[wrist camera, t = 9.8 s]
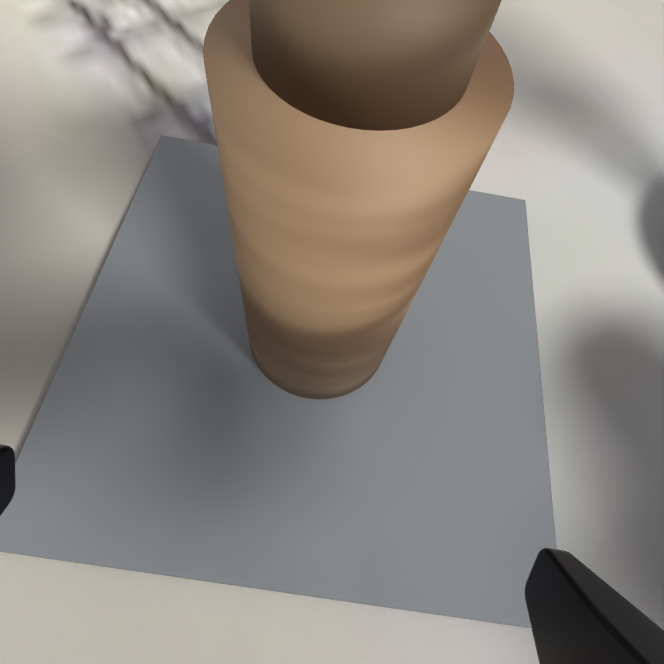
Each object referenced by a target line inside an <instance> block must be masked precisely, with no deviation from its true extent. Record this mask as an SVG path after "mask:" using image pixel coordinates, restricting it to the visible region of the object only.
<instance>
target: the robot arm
mask: <svg viewBox="0 0 664 664" xmlns="http://www.w3.org/2000/svg"><path fill="white" fill-rule="evenodd" d="M15 488H16V479H15V453H14V451H13V449H12V448H11V447H9V446H6V445H1V444H0V516H1V514H2V513H3V512H4V510H5V509H6V508H7V506H8V505H9V504H10V502H11V500H12V498H13V496H14V493H15ZM525 601H526V605H527V610H528V614H529V619H530V623H531V628H532V632H533V636H534V641H535V645H536V650H537V654H538V659H539V663H540V664H664V630H662V629H661V628H660V627H659V626H658V625H656V624H655V623H654V622H653V621H652V620H650V619H649V618H648V617H647V616H645V615H644V614H643V613H642V612H641V611H639V610H638V609H637V608H636V607H635V606H633V605H632V604H631V603H630V602H629V601H627V600H626V599H625V598H624V597H622V596H621V595H620V594H619V593H618V592H616V591H615V590H614V589H613V588H612V587H610V586H609V585H608V584H607V583H606V582H604V581H603V580H602V579H601V578H600V577H598V576H597V575H596V574H595V573H593V572H592V571H591V570H590V569H589V568H587V567H586V566H585V565H584V564H583V563H581V562H580V561H579V560H578V559H577V558H575V557H574V556H573V555H572V554H570V553H569V552H566V551H563V550H558V549H552V548H543V549H541V550H540V551H539V553H538V555H537V557H536V560H535V562H534V564H533V567H532V569H531V572H530V574H529V576H528V579H527V581H526V585H525Z"/></svg>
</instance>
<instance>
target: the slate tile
mask: <svg viewBox="0 0 664 664" xmlns="http://www.w3.org/2000/svg"><path fill="white" fill-rule="evenodd" d="M15 479H16V488H15V493H14V496H13V498H12V500H11V502H10V504H9V505H8V506H7V508H6V509H5V510H4V512H3V513H2V514H1V516H0V552H6V553H13V554H20V555H27V556H34V557H41V558H48V559H55V560H62V561H69V562H76V563H83V564H90V565H97V566H103V567H110V568H117V569H124V570H131V571H138V572H145V573H152V574H159V575H166V576H173V577H180V578H187V579H194V580H201V581H207V582H214V583H221V584H228V585H235V586H242V587H249V588H256V589H263V590H270V591H277V592H284V593H291V594H298V595H305V596H311V597H318V598H325V599H332V600H339V601H346V602H353V603H360V604H367V605H374V606H381V607H388V608H395V609H402V610H409V611H415V612H422V613H429V614H436V615H443V616H450V617H457V618H464V619H471V620H478V621H485V622H492V623H499V624H506V625H513V626H519V627H526V628H531V623H530V619H529V614H528V610H527V605H526V601H525V585H526V581H527V579H528V576H529V574H530V572H531V569H532V567H533V564H534V562H535V560H536V557H537V555H538V553H539V551H540V550H541V549H543V548H552V549H556V539H555V528H554V517H553V506H552V495H551V483H550V472H549V461H548V450H547V439H546V427H545V416H544V405H543V394H542V383H541V372H540V360H539V349H538V338H537V327H536V316H535V304H534V293H533V282H532V271H531V260H530V248H529V237H528V226H527V215H526V204H525V200H521V199H515V198H510V197H504V196H499V195H493V194H487V193H482V192H476V191H470V190H469V191H468V193H467V195H466V196H465V198H464V200H463V202H462V204H461V206H460V208H459V210H458V212H457V214H456V216H455V218H454V220H453V222H452V224H451V226H450V228H449V230H448V232H447V234H446V236H445V238H444V240H443V242H442V244H441V246H440V248H439V250H438V252H437V254H436V256H435V258H434V260H433V262H432V263H431V265H430V267H429V269H428V271H427V273H426V275H425V277H424V279H423V281H422V283H421V285H420V287H419V289H418V291H417V293H416V295H415V297H414V299H413V301H412V303H411V305H410V307H409V309H408V311H407V313H406V315H405V317H404V319H403V321H402V323H401V325H400V327H399V329H398V331H397V332H396V334H395V336H394V338H393V340H392V342H391V344H390V346H389V348H388V350H387V352H386V354H385V356H384V358H383V360H382V362H381V364H380V366H379V368H378V369H377V371H376V372H375V374H374V375H373V376H372V377H371V378H370V379H369V381H368V382H366V383H365V384H364V385H363V386H361V387H360V388H358V389H357V390H355V391H353V392H351V393H349V394H346V395H344V396H340V397H337V398H331V399H308V398H303V397H299V396H296V395H293V394H291V393H288V392H286V391H284V390H282V389H281V388H279V387H278V386H276V385H275V384H273V383H272V382H271V381H270V380H269V379H268V378H267V377H266V376H265V375H264V374H263V372H262V371H261V370H260V368H259V367H258V365H257V364H256V362H255V359H254V357H253V355H252V351H251V347H250V342H249V336H248V330H247V324H246V318H245V311H244V305H243V299H242V293H241V287H240V281H239V274H238V268H237V262H236V256H235V250H234V244H233V237H232V231H231V225H230V219H229V213H228V207H227V200H226V194H225V188H224V182H223V176H222V170H221V164H220V157H219V151H218V146H217V145H212V144H206V143H200V142H195V141H189V140H183V139H178V138H172V137H166V136H161V138H160V140H159V142H158V144H157V147H156V149H155V151H154V153H153V156H152V158H151V160H150V162H149V164H148V167H147V169H146V171H145V173H144V176H143V178H142V180H141V182H140V185H139V187H138V189H137V191H136V194H135V196H134V198H133V200H132V203H131V205H130V207H129V209H128V212H127V214H126V216H125V218H124V221H123V223H122V225H121V227H120V230H119V232H118V234H117V236H116V239H115V241H114V243H113V245H112V248H111V250H110V252H109V254H108V257H107V259H106V261H105V263H104V266H103V268H102V270H101V272H100V275H99V277H98V279H97V281H96V284H95V286H94V288H93V290H92V293H91V295H90V297H89V299H88V302H87V304H86V306H85V308H84V311H83V313H82V315H81V317H80V320H79V322H78V324H77V326H76V329H75V331H74V333H73V335H72V338H71V340H70V342H69V344H68V347H67V349H66V351H65V353H64V356H63V358H62V360H61V362H60V365H59V367H58V369H57V371H56V373H55V376H54V378H53V380H52V382H51V385H50V387H49V389H48V391H47V394H46V396H45V398H44V400H43V403H42V405H41V407H40V409H39V412H38V414H37V416H36V418H35V421H34V423H33V425H32V427H31V430H30V432H29V434H28V436H27V439H26V441H25V443H24V445H23V448H22V450H21V452H20V454H19V457H18V459H17V461H16V463H15Z"/></svg>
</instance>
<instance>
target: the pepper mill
mask: <svg viewBox="0 0 664 664" xmlns="http://www.w3.org/2000/svg"><path fill="white" fill-rule="evenodd" d="M500 2H501V0H230V1H229V2H227V3H226V4H225V5H224V6H223V7H222V8H221V9H220V11H219V12H218V13H217V14H216V15H215V17H214V18H213V20H212V22H211V23H210V25H209V27H208V30H207V33H206V36H205V40H204V48H203V55H204V65H205V71H206V77H207V83H208V90H209V96H210V102H211V108H212V114H213V120H214V127H215V133H216V139H217V145H218V151H219V157H220V164H221V170H222V176H223V182H224V188H225V194H226V200H227V207H228V213H229V219H230V225H231V231H232V237H233V244H234V250H235V256H236V262H237V268H238V274H239V281H240V287H241V293H242V299H243V305H244V311H245V318H246V324H247V330H248V336H249V342H250V347H251V351H252V355H253V357H254V359H255V362H256V364H257V365H258V367H259V368H260V370H261V371H262V372H263V374H264V375H265V376H266V377H267V378H268V379H269V380H270V381H271V382H272V383H273V384H275V385H276V386H278V387H279V388H281V389H282V390H284V391H286V392H288V393H291V394H293V395H296V396H299V397H303V398H308V399H331V398H337V397H340V396H344V395H346V394H349V393H351V392H353V391H355V390H357V389H358V388H360V387H361V386H363V385H364V384H365V383H366V382H368V381H369V379H370V378H371V377H372V376H373V375H374V374H375V372H376V371H377V369H378V368H379V366H380V364H381V362H382V360H383V358H384V356H385V354H386V352H387V350H388V348H389V346H390V344H391V342H392V340H393V338H394V336H395V334H396V332H397V331H398V329H399V327H400V325H401V323H402V321H403V319H404V317H405V315H406V313H407V311H408V309H409V307H410V305H411V303H412V301H413V299H414V297H415V295H416V293H417V291H418V289H419V287H420V285H421V283H422V281H423V279H424V277H425V275H426V273H427V271H428V269H429V267H430V265H431V263H432V262H433V260H434V258H435V256H436V254H437V252H438V250H439V248H440V246H441V244H442V242H443V240H444V238H445V236H446V234H447V232H448V230H449V228H450V226H451V224H452V222H453V220H454V218H455V216H456V214H457V212H458V210H459V208H460V206H461V204H462V202H463V200H464V198H465V196H466V195H467V193H468V191H469V189H470V187H471V185H472V183H473V181H474V179H475V177H476V175H477V173H478V171H479V169H480V167H481V165H482V163H483V161H484V159H485V157H486V155H487V153H488V151H489V149H490V147H491V145H492V143H493V141H494V139H495V137H496V135H497V133H498V131H499V129H500V128H501V126H502V124H503V122H504V120H505V118H506V116H507V114H508V112H509V110H510V107H511V103H512V99H513V93H514V81H513V75H512V70H511V67H510V64H509V61H508V59H507V57H506V55H505V53H504V51H503V49H502V48H501V46H500V45H499V43H498V42H497V41H496V39H495V38H494V37H493V35H492V34H491V33H490V32H489V30H490V28H491V25H492V23H493V20H494V18H495V15H496V13H497V10H498V8H499V5H500Z"/></svg>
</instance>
